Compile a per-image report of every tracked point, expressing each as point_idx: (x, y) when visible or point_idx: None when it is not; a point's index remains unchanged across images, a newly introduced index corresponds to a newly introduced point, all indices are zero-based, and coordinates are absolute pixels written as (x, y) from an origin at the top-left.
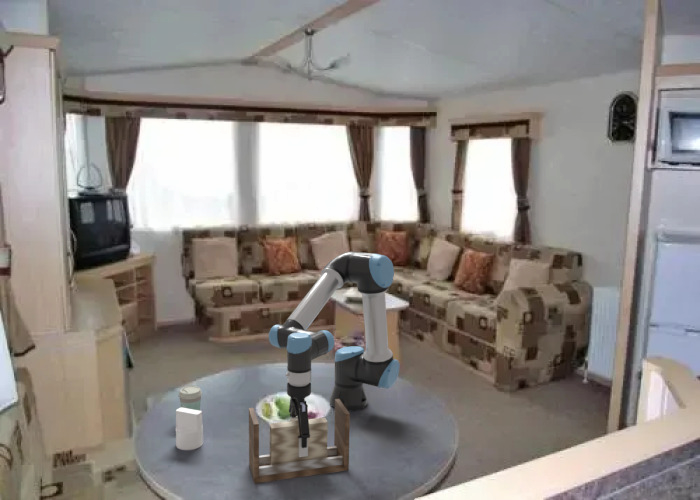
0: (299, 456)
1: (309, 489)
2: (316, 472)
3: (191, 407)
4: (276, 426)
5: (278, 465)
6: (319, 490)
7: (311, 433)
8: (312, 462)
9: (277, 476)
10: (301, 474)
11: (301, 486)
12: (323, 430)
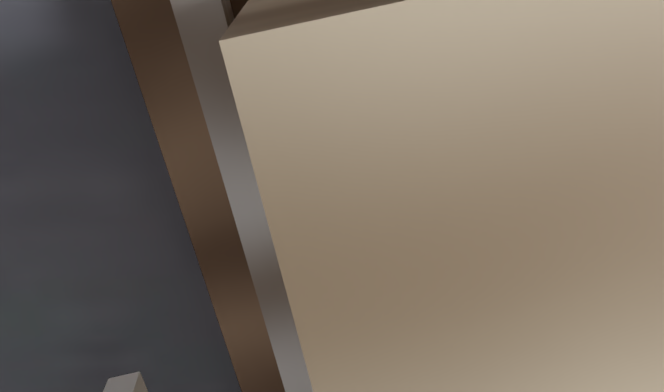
0: (106, 387)
1: (10, 319)
2: (238, 372)
3: None
4: (432, 267)
5: (203, 75)
6: (7, 384)
7: None
8: (285, 388)
9: (144, 51)
10: (202, 266)
11: (49, 260)
12: None
